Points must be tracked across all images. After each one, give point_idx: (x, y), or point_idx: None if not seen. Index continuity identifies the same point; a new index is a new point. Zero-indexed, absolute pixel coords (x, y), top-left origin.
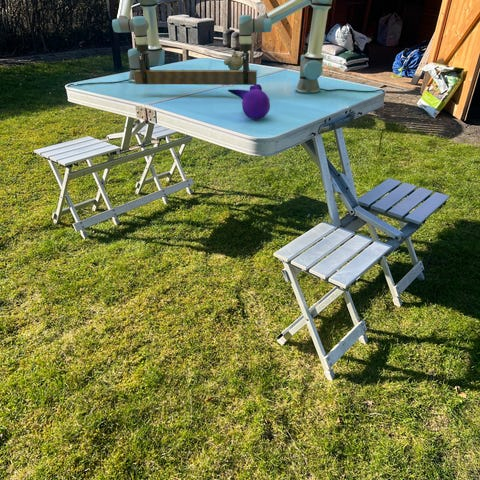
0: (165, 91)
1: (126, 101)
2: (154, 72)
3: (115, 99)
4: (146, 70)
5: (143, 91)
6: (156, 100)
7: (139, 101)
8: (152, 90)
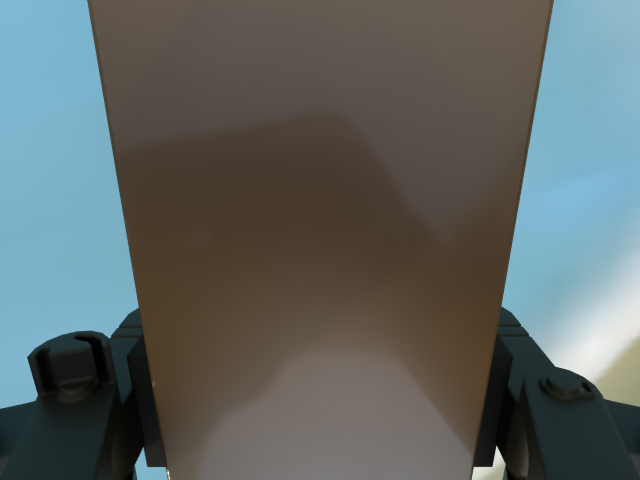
0: (17, 35)
1: (576, 358)
2: (532, 23)
3: (473, 471)
4: (278, 425)
5: (91, 325)
6: (588, 10)
7: (603, 226)
8: (11, 239)
